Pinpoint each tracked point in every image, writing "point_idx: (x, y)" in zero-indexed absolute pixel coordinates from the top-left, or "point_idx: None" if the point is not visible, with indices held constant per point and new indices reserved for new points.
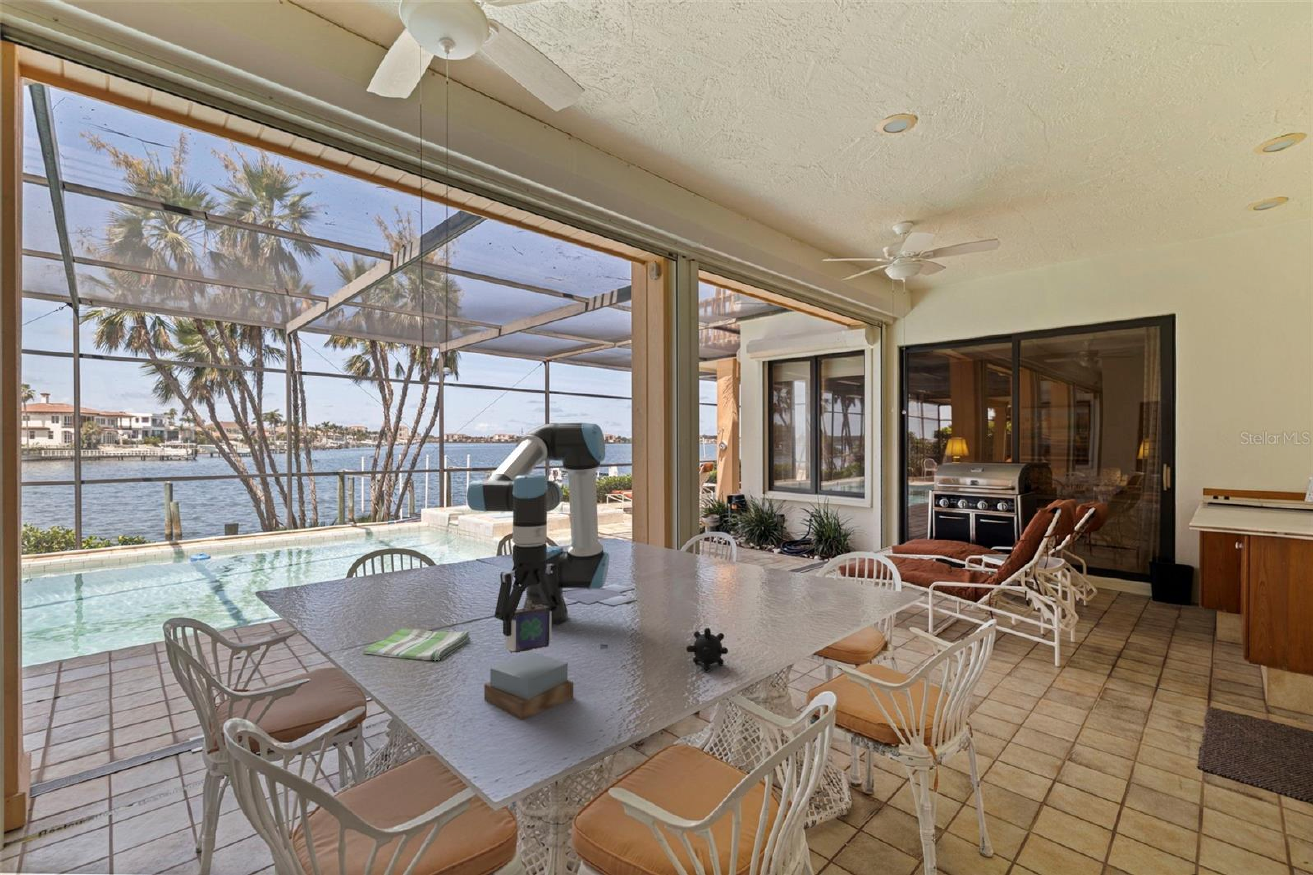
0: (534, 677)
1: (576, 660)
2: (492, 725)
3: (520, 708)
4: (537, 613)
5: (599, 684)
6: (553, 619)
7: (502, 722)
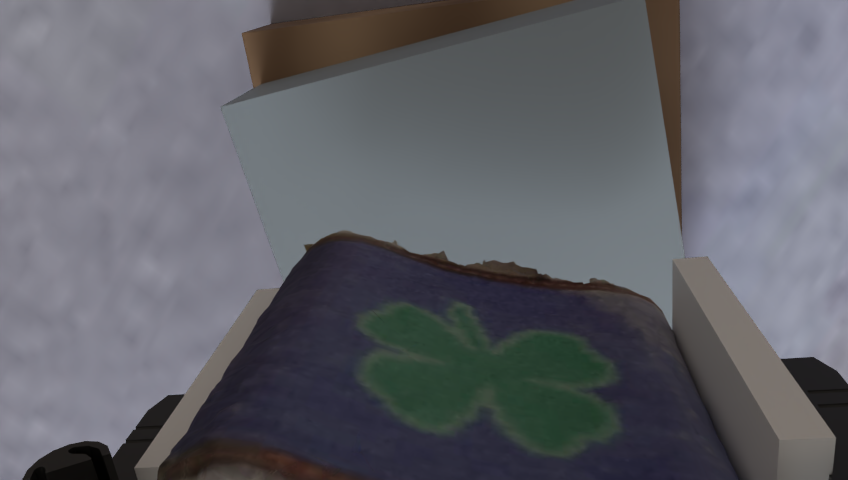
0: (569, 24)
1: (42, 412)
2: (810, 24)
3: None
4: (384, 463)
5: (61, 69)
6: (143, 421)
7: (749, 18)
